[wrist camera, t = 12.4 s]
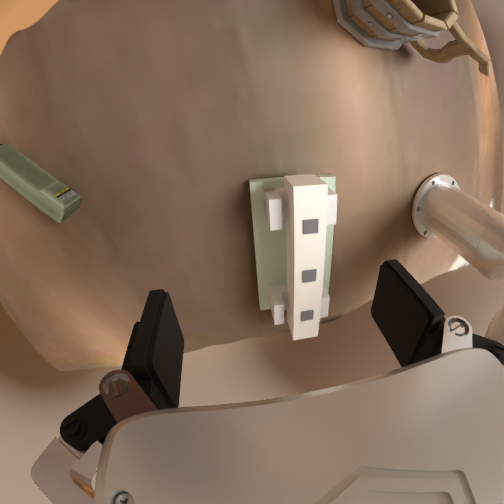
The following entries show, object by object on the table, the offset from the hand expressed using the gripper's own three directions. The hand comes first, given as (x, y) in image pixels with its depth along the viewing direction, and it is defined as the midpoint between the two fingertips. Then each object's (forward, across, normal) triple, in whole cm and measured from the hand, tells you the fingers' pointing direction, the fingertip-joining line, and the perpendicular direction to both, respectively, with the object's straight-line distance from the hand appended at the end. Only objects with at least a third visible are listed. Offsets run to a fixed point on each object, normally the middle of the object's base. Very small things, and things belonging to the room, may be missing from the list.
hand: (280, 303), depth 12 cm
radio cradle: (+28, -7, +13) cm, 32 cm away
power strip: (+25, -7, +13) cm, 29 cm away
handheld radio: (+29, +34, -7) cm, 45 cm away
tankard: (+29, -24, -22) cm, 43 cm away
